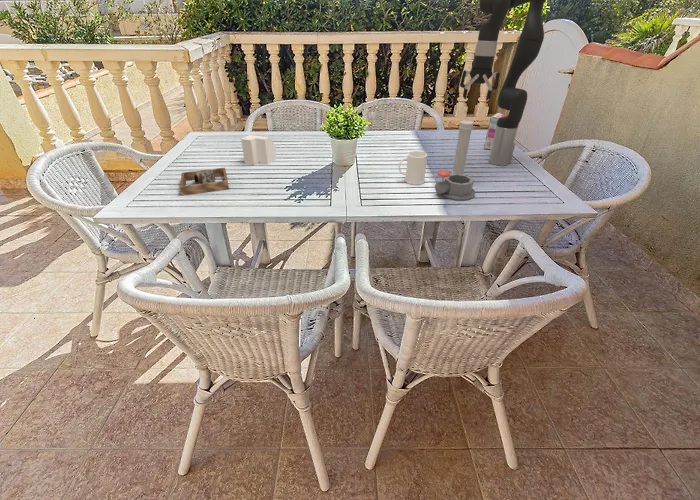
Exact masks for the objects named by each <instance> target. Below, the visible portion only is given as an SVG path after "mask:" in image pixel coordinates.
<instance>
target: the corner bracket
mask: <svg viewBox="0 0 700 500" xmlns="http://www.w3.org/2000/svg"><path fill="white" fill-rule="evenodd" d="M240 142H241V148H242V154H243V160H244V165H249V166H250V165H251V166H256V165H258V164H263V165H270V164H271V163H273V162H275V161H276V160H278V157H277V148H276V143H274V141H272V139H271V138H270V137H267V136H260V135H254V134H253V135H252V134H249V135H246V136H244V137H242V138H241V139H240Z"/></svg>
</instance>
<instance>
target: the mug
mask: <svg viewBox="0 0 700 500" xmlns="http://www.w3.org/2000/svg"><path fill="white" fill-rule="evenodd" d="M404 161H406V171H405V172H404V171H402V170H401V164H402V163H403V162H404ZM427 162H428V153H427V152H425V151H422V150H412V151H409V152H407V156H406V157H404V158H402V159H401V160H400V162H399V163H398V171H399V172H400V174H401V175H403V176H405V178H404V181H405V183H407V184H409V185H413V186H414V185H415V186H420V185H423V184H424V183H425V182H426V181H425V178H426V168H427Z"/></svg>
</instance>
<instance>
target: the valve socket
mask: <svg viewBox="0 0 700 500" xmlns="http://www.w3.org/2000/svg"><path fill="white" fill-rule="evenodd" d="M437 176H439V177H440V178H441V181H439V182H436V183H435V185H434V189H435V192H436V194H438V195H440V196H442V197H443V198H445V199H447V200H452V201H457V202H458V201H459V202H460V201H461V202H463V201H465V202H466V201H469V200H472V199H473V198H475V195H476V190H475V189H474V188H473V185H474V178H472V177H470V176H469V175H467V174H464V175H462V174H451V171H449V170H442V169H441V170H440V169H439V170H438V171H437Z"/></svg>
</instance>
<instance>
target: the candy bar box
mask: <svg viewBox="0 0 700 500" xmlns="http://www.w3.org/2000/svg"><path fill="white" fill-rule="evenodd" d="M502 117H507V114H505V113H501V112H500V113H499V112H497V113H495V114H494V115H492V116H490V119H489V123H488V128H487V131H486V132H487V133H486V137H485V142H484V147H483V149H484V150H489V151H491V148H492V143H493V139H494V134H495V129H496V125H497V121H498V119H499V118H502Z"/></svg>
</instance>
